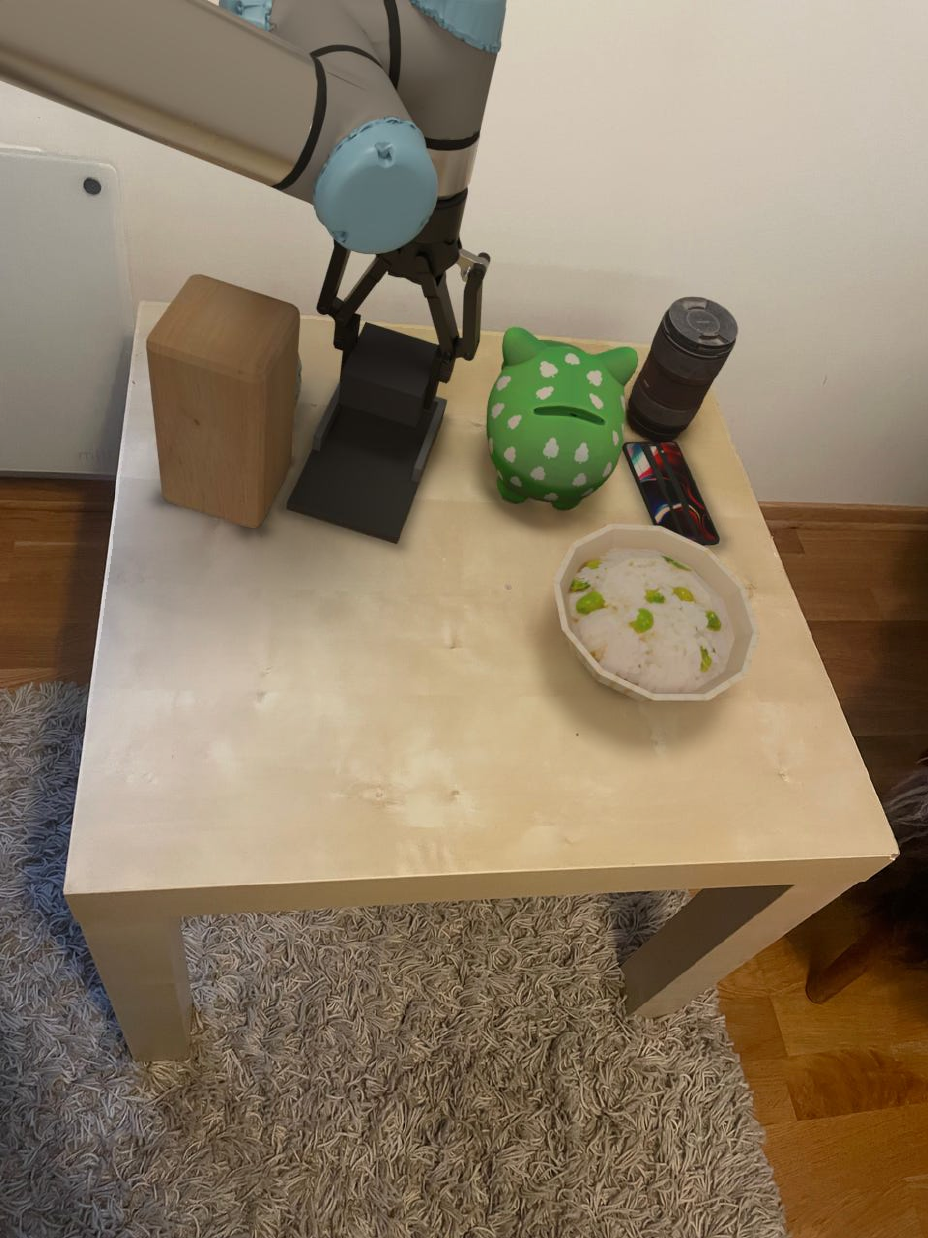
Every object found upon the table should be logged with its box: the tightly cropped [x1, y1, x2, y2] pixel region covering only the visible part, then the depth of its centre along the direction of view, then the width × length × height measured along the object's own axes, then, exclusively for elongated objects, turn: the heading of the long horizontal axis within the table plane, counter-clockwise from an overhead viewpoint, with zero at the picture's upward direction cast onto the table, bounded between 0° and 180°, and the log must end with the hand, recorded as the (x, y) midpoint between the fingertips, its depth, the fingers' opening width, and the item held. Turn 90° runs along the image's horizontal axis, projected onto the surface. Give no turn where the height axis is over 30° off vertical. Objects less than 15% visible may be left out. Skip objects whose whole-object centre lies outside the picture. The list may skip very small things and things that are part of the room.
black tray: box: [286, 382, 448, 544], centre depth 96 cm, size 19×11×3 cm, turn 166°
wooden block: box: [145, 273, 301, 529], centre depth 83 cm, size 10×10×20 cm
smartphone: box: [622, 440, 721, 547], centre depth 103 cm, size 7×1×15 cm
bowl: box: [552, 523, 761, 703], centre depth 85 cm, size 19×19×10 cm
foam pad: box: [338, 321, 439, 427], centre depth 92 cm, size 8×8×4 cm
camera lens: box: [626, 296, 739, 442], centre depth 103 cm, size 8×8×15 cm
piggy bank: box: [485, 326, 639, 511], centre depth 95 cm, size 14×18×15 cm
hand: (388, 387), depth 93 cm, fingers closed on foam pad, 8 cm apart
